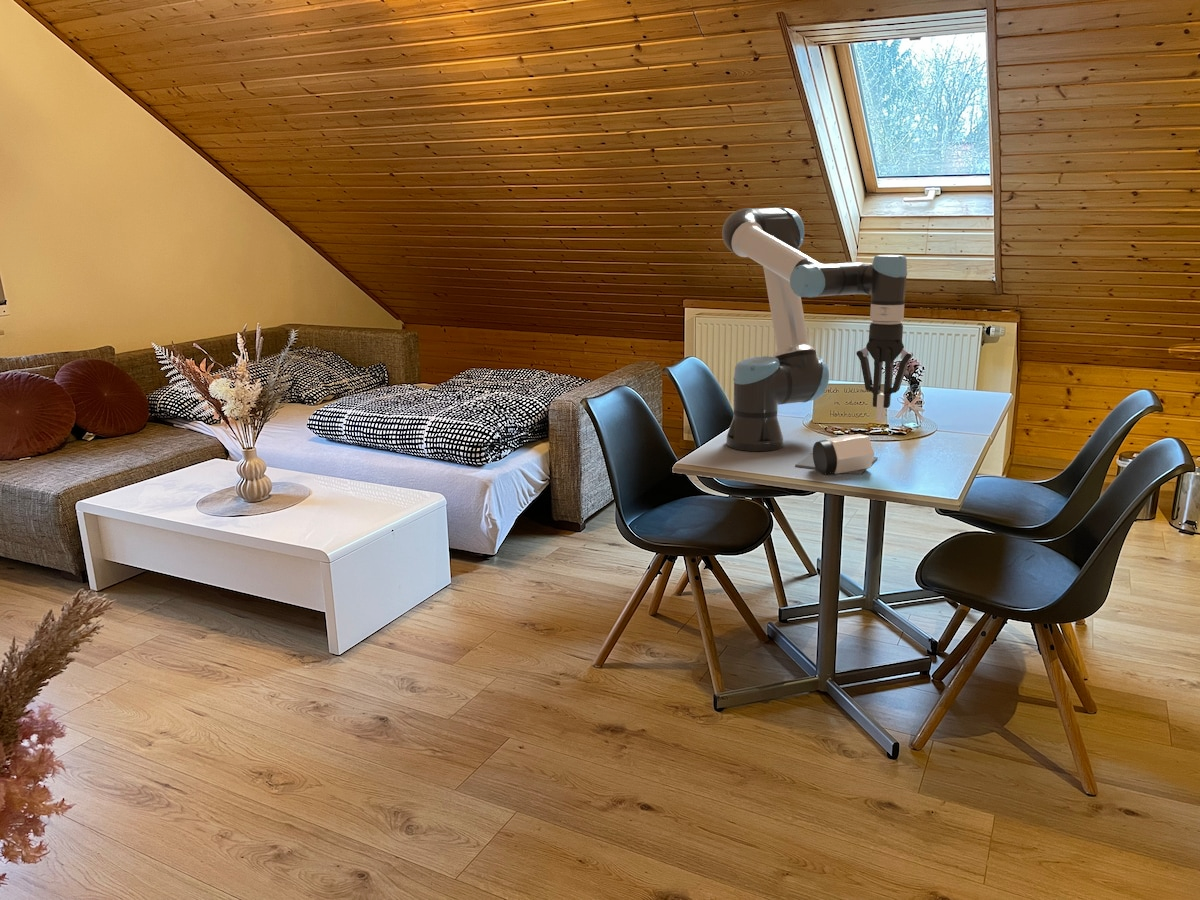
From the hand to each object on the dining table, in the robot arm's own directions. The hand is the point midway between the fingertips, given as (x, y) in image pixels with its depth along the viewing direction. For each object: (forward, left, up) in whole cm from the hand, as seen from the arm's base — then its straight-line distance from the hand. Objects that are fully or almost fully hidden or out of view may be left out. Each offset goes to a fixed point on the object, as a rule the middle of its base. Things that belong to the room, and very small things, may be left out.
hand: (880, 420), depth 216 cm
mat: (-10, 0, -12) cm, 16 cm away
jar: (-2, -2, -7) cm, 8 cm away
